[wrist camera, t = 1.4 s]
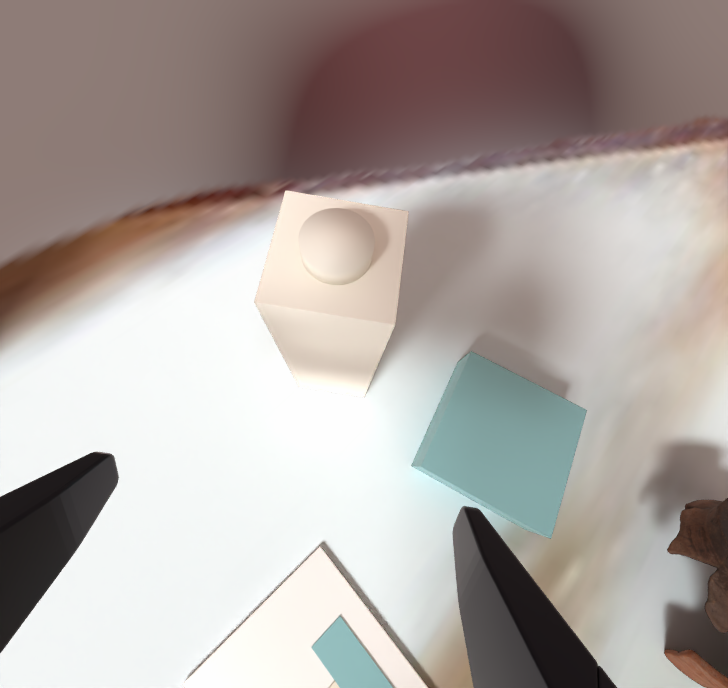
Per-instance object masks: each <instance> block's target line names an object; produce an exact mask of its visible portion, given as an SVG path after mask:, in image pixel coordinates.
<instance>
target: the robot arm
mask: <svg viewBox="0 0 728 688" xmlns="http://www.w3.org/2000/svg"><path fill="white" fill-rule="evenodd" d="M118 478H119V476H118V471H117V467H116V462H115V458H114V456H113V455H112V454H110V453H103V452H93V453H90V454H88V455H86V456H84V457H82V458H80V459H78V460H76V461H73V462H71V463H69V464H67V465H65V466H63V467H61V468H59V469H57V470H55V471H53V472H51V473H49V474H47V475H44V476H42V477H40V478H38V479H36V480H34V481H32V482H30V483H28V484H26V485H24V486H22V487H20V488H18V489H16V490H13V491H11V492H9V493H7V494H5V495H3V496H1V497H0V653H1V652H2V651H3V649H4V648H5V646H6V645H7V644H8V642H9V641H10V640H11V638H12V637H13V636H14V634H15V633H16V632H17V630H18V629H19V627H20V626H21V625H22V623H23V622H24V621H25V619H26V618H27V617H28V615H29V614H30V613H31V611H32V610H33V609H34V607H35V606H36V604H37V603H38V602H39V600H40V599H41V598H42V596H43V595H44V594H45V592H46V591H47V590H48V588H49V587H50V586H51V584H52V583H53V581H54V580H55V579H56V577H57V576H58V575H59V573H60V572H61V571H62V569H63V568H64V567H65V565H66V564H67V563H68V561H69V560H70V558H71V557H72V556H73V554H74V553H75V551H76V550H77V549H78V547H79V546H80V544H81V543H82V541H83V539H84V538H85V536H86V535H87V533H88V531H89V530H90V528H91V527H92V525H93V523H94V522H95V520H96V518H97V517H98V515H99V513H100V512H101V510H102V509H103V507H104V505H105V504H106V502H107V500H108V499H109V497H110V496H111V494H112V492H113V491H114V489H115V487H116V485H117V483H118ZM453 545H454V557H455V569H456V581H457V592H458V602H459V608H460V615H461V620H462V626H463V631H464V637H465V642H466V648H467V653H468V659H469V664H470V670H471V676H472V681H473V687H474V688H617V687H616V686H615V685H614V683H613V682H612V681H611V679H610V678H609V677H608V675H607V674H606V673H605V672H604V670H603V669H602V668H601V667H600V666H598V665H597V662H596V660H595V659H594V658H593V656H592V655H591V654H590V652H589V651H588V650H587V648H586V647H585V646H584V645H583V643H582V642H581V641H580V639H579V638H578V637H577V635H576V634H575V633H574V632H573V630H572V629H571V628H570V626H569V625H568V624H567V622H566V621H565V620H564V619H563V617H562V616H561V615H560V613H559V612H558V611H557V609H556V608H555V607H554V606H553V604H552V603H551V602H550V600H549V599H548V598H547V596H546V595H545V594H544V593H543V591H542V590H541V589H540V587H539V586H538V585H537V584H536V582H535V581H534V580H533V578H532V577H531V576H530V574H529V573H528V572H527V571H526V569H525V568H524V567H523V565H522V564H521V563H520V561H519V560H518V559H517V558H516V556H515V555H514V554H513V552H512V551H511V550H510V548H509V547H508V546H507V545H506V543H505V542H504V541H503V539H502V538H501V537H500V535H499V534H498V533H497V532H496V530H495V529H494V528H493V526H492V525H491V524H490V522H489V521H488V520H487V519H486V517H485V516H484V515H483V513H482V512H481V511H480V510H479V509H477V508H473V507H466V506H464V507H462V508H461V510H460V512H459V514H458V517H457V519H456V522H455V524H454V527H453Z"/></svg>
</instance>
